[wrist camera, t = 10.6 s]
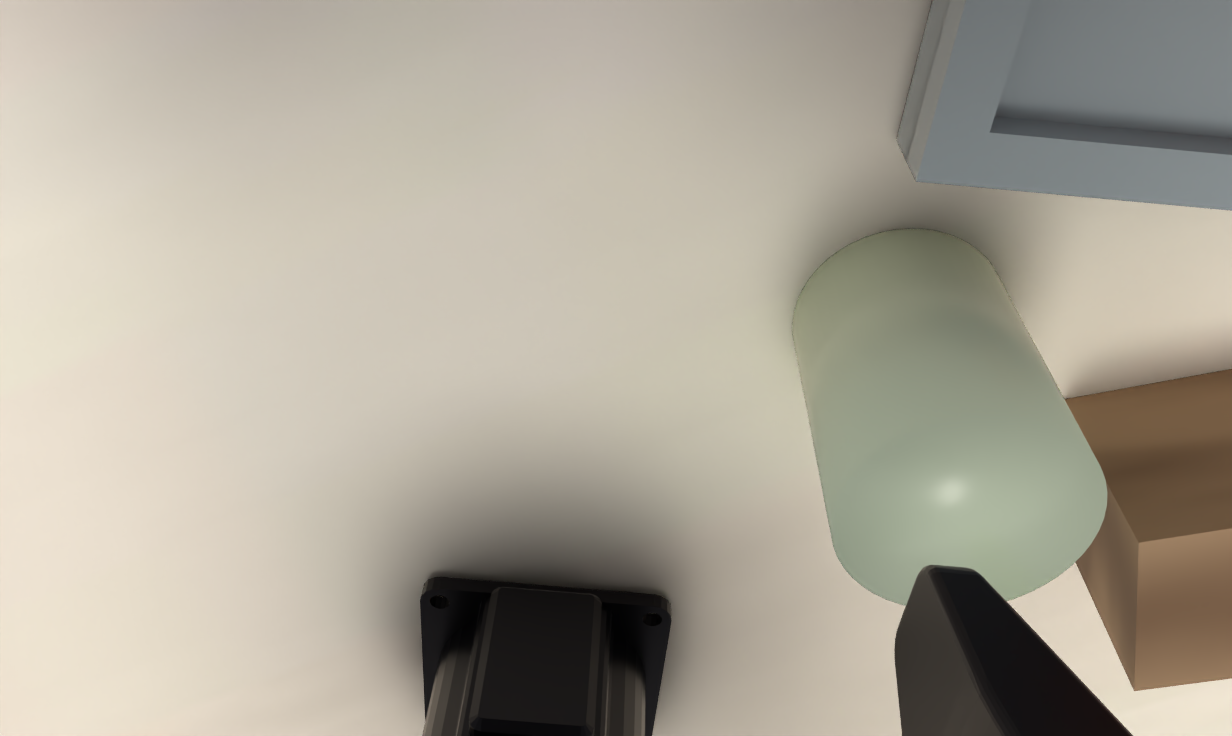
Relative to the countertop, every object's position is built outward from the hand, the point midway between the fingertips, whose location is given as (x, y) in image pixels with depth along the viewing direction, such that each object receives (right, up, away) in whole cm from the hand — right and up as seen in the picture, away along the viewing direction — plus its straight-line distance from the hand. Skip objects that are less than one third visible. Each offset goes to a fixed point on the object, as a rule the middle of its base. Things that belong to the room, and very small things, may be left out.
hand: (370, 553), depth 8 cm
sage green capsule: (+8, +3, +13) cm, 16 cm away
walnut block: (+15, 0, +15) cm, 21 cm away
